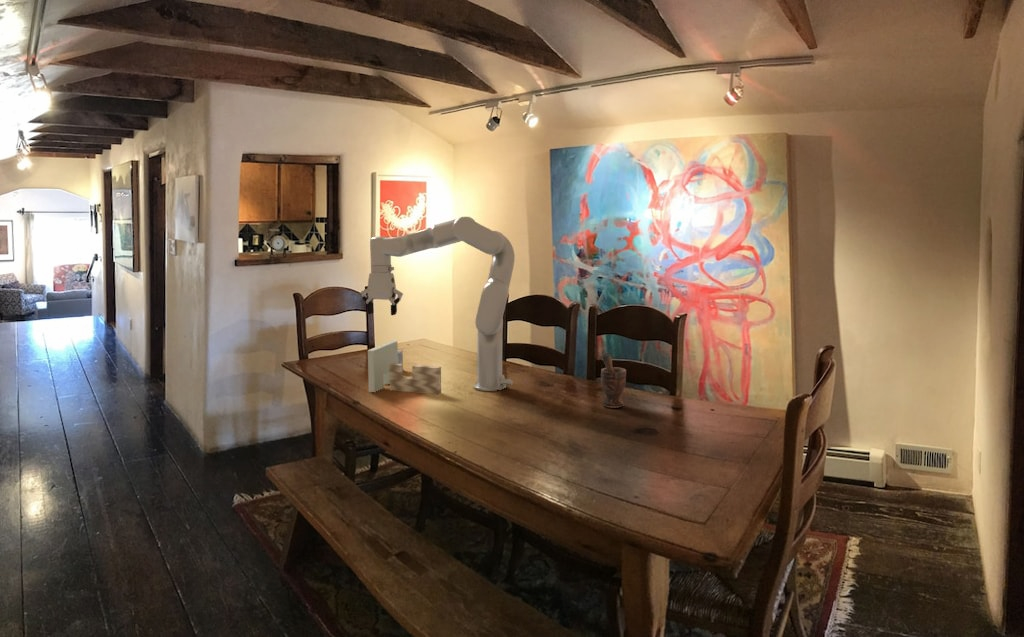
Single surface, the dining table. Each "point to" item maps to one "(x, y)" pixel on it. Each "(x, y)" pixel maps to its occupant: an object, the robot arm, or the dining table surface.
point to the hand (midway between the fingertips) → (382, 314)
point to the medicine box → (400, 357)
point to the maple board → (415, 379)
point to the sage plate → (381, 364)
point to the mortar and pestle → (612, 382)
